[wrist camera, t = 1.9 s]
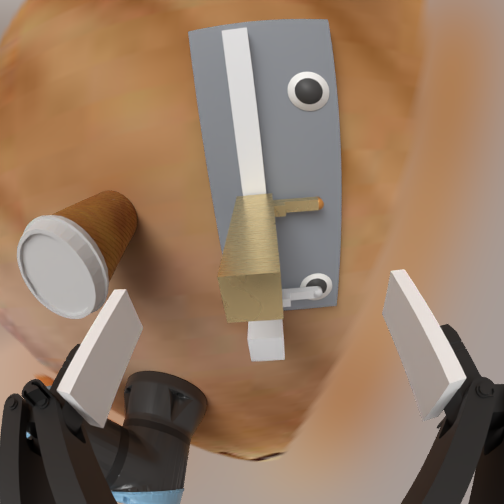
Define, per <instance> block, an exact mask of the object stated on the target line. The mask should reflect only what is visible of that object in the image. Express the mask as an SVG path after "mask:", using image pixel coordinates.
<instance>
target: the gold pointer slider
mask: <svg viewBox="0 0 504 504" xmlns="http://www.w3.org/2000/svg"><path fill="white" fill-rule="evenodd" d="M323 206H324V202H323V201H322V199H321V198H320V197H318V196H316V197H305V198H292V199H279V200H273V197H272V193H269V194H258V195H247V196H238V197H237V198H236V202H235V206H234V210H233V214H232V218H231V222H230V226H229V230H228V234H227V238H226V242H225V247H224V251H223V255H222V259H221V263H220V268H219V272H218V276H217V278H218V282H219V287H220V292H221V296H222V301H223V305H224V310H225V314H226V318H227V323H231V322H250V321H266V320H279V319H284V318H283V301H282V286H281V272H280V262H279V252H278V242H277V233H276V223H275V217H282V216H286V213H289V212H301V211H315V210H320V209H322V208H323Z"/></svg>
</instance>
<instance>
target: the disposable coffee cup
mask: <svg viewBox="0 0 504 504" xmlns="http://www.w3.org/2000/svg"><path fill="white" fill-rule="evenodd" d="M136 228H137V216H136V212H135V209H134V207H133V205H132V204H131V202H130V201H129V200H128V199H127V198H126V197H125V196H123V195H122V194H120V193H118V192H115V191H104V192H101V193H99V194H97V195H94V196H92V197H90V198H88V199H85V200H83V201H81V202H78V203H76V204H74V205H72V206H70V207H67V208H65V209H63V210H61V211H59V212H57V213H55V214H53V215H47V216H40V217H37V218H35V219H33V220H32V221H31V222H30V223H29V224H28V225H27V227H26V229H25V230H24V233H23V236H22V237H21V239H20V241H19V244H18V247H17V260H18V265H19V268H20V271H21V274H22V277H23V279H24V281H25V283H26V285H27V287H28V288H29V289H30V291H31V292H32V294H33V295H34V296H35V297H36V298H37V300H39V301H40V302H41V303H42V304H43V305H44V306H45V307H47V308H48V309H49V310H51V311H52V312H54V313H56V314H58V315H60V316H63V317H65V318H71V319H80V318H84V317H85V316H87V315H89V314H90V313H92V312H95V311H97V310H98V309H99V308H100V307H101V306H102V305H103V304H104V302H105V300H106V297H107V294H108V284H109V282H110V279H111V277H112V275H113V273H114V271H115V269H116V267H117V265H118V263H119V261H120V259H121V257H122V256H123V253H124V252H125V249H126V248H127V246H128V244H129V242H130V240H131V238H132V236H133V235H134V233H135V231H136Z"/></svg>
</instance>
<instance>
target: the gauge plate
mask: <svg viewBox="0 0 504 504" xmlns="http://www.w3.org/2000/svg"><path fill="white" fill-rule="evenodd" d="M188 34H189V43H190V51H191V59H192V67H193V74H194V82H195V89H196V97H197V104H198V111H199V118H200V124H201V131H202V138H203V144H204V151H205V157H206V163H207V169H208V176H209V182H210V188H211V194H212V199H213V205H214V211H215V217H216V222H217V228H218V234H219V239H220V245H221V250H222V255H223V251H224V247H225V242H226V238H227V234H228V230H229V226H230V222H231V218H232V214H233V210H234V206H235V202H236V198H237V197H238V196H247V195H258V194H269V193H272V197H273V200H279V199H292V198H305V197H316V196H318V197H320V198H321V199H322V201H323V202H324V206H323V208H322V209H320V210H315V211H301V212H289V213H286V216H282V217H275V223H276V233H277V242H278V252H279V262H280V272H281V286H282V301H283V311H285V310H297V309H308V308H318V307H328V306H337V295H338V282H339V266H340V245H341V145H340V125H339V110H338V97H337V86H336V76H335V67H334V58H333V50H332V43H331V36H330V29H329V23H328V20H326V19H281V20H264V21H252V22H243V23H235V24H227V25H221V26H215V27H209V28H204V29H198V30H194V31H189V32H188ZM247 340H248V345H249V350H250V356H251V361H270V360H285V353H284V335H283V322H282V319H279V320H266V321H250V322H248V339H247Z"/></svg>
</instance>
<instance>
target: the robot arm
mask: <svg viewBox="0 0 504 504" xmlns="http://www.w3.org/2000/svg"><path fill="white" fill-rule="evenodd" d="M382 315H383V317H384V319H385V322H386V324H387V326H388V329H389V331H390V333H391V336H392V338H393V341H394V343H395V346H396V348H397V350H398V353H399V356H400V358H401V361H402V364H403V366H404V369H405V372H406V374H407V377H408V380H409V382H410V385H411V388H412V391H413V394H414V397H415V400H416V402H417V406H418V409H419V412H420V415H421V418H422V421H425V420H429V419H432V418H435V417H438V416H439V415H440V413H441V412H442V411H443V410H444V411H445V414H446V416H445V417H444V419H443V420H442V421H441V422H440V423H439V425H438V426H437V428H439V427H440V426H441V427H440V430H439V432H438V434H437V437H436V439H435V441H434V443H433V446H432V448H431V450H430V452H429V454H428V456H427V458H426V460H425V462H424V464H423V466H422V468H421V470H420V472H419V474H418V476H417V477H416V479H415V481H414V483H413V485H412V486H411V488H410V490H409V491H408V493H407V495H406V496H405V498H404V499H403V501H402V503H401V504H460V503H461V502H462V499H463V497H464V495H465V493H466V491H467V488H468V486H469V484H470V481H471V479H472V477H473V474H474V472H475V476H474V481H473V486H472V491H471V495H470V500H469V504H504V384H494V383H493V382H492V381H491V380H490V379H488V378H486V377H481V375H480V374H479V372H478V370H477V368H476V366H475V364H474V362H473V361H472V359H471V357H470V355H469V353H468V351H467V349H465V346H464V344H463V342H461V339H460V337H459V335H458V334H457V332H456V331H455V330H454V329H453V328H452V327H451V326H450V325H448V324H446V325H442V326H439V324H438V322H437V321H436V319H435V317H434V315H433V314H432V312H431V310H430V309H429V307H428V305H427V304H426V302H425V300H424V299H423V297H422V296H421V294H420V292H419V291H418V289H417V288H416V286H415V285H414V283H413V282H412V280H411V278H410V277H409V275H408V274H407V273H406V271H405V269H403V270H394V271H391V272H390V278H389V284H388V289H387V294H386V298H385V303H384V308H383V312H382ZM142 330H143V326H142V324H141V322H140V320H139V318H138V315H137V313H136V311H135V309H134V306H133V304H132V302H131V299H130V297H129V295H128V292H127V290H126V289H118V290H114V291H113V292H112V294H111V296H110V297H109V299H108V300H107V302H106V303H105V305H104V307H103V308H102V310H101V311H100V313H99V315H98V316H97V318H96V320H95V321H94V323H93V325H92V326H91V328H90V330H89V331H88V333H87V335H86V336H85V338H84V340H83V342H82V343H81V344H77V345H76V346H75V347H74V348H73V349H72V350H71V351H70V353H69V355H68V357H67V358H66V361H65V362H64V364H63V365H62V366H63V367H62V368H61V369H60V371H59V373H58V375H57V377H56V378H55V380H54V382H53V384H52V386H47V387H46V386H45V385H44V384H43V383H42V382H41V381H40V380H38V379H34V380H31V381H29V382H28V383H27V384H26V385H25V386H24V388H23V390H22V397H23V398H24V399H25V400H24V399H23V398H22V397H21V396H20V395H19V394H12V395H10V396H9V397H8V398H7V400H6V402H5V405H4V410H3V418H2V427H1V438H0V504H117V502H119V503H123V504H180V501H181V497H182V494H183V491H184V488H183V487H184V480H185V473H186V466H187V460H188V453H189V446H190V441H191V437H192V436H193V434H194V432H195V431H196V429H197V427H198V425H199V424H200V422H201V420H202V419H203V417H204V415H205V411H206V405H207V400H206V398H205V396H204V394H203V393H202V392H201V391H200V390H199V389H198V388H196V387H195V386H194V385H192V384H190V383H189V382H187V381H185V380H182V379H180V378H178V377H175V376H172V375H169V374H165V373H160V372H152V371H143V372H137V373H134V374H132V375H131V376H130V377H129V378H128V381H127V383H126V386H125V390H124V403H125V420H124V423H123V426H120V425H119V424H117V423H115V422H113V421H111V420H109V419H107V417H108V414H109V411H110V409H111V406H112V403H113V401H114V398H115V395H116V393H117V390H118V388H119V385H120V382H121V380H122V377H123V375H124V372H125V370H126V367H127V365H128V363H129V360H130V358H131V355H132V353H133V351H134V348H135V346H136V344H137V341H138V339H139V337H140V334H141V332H142ZM475 469H476V470H475Z"/></svg>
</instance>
